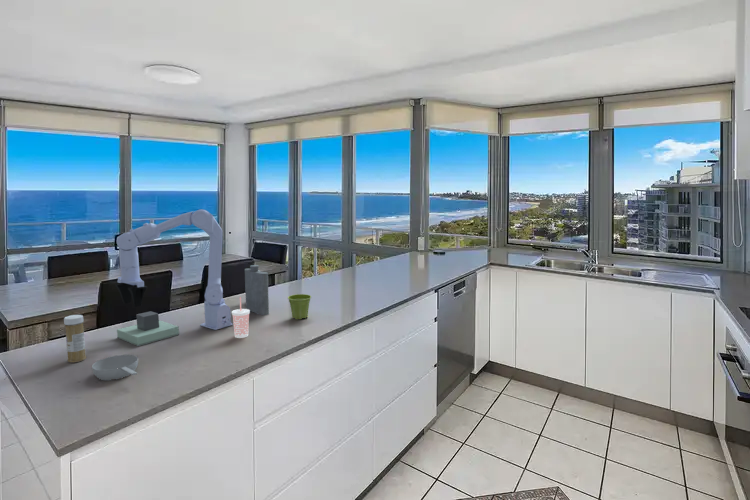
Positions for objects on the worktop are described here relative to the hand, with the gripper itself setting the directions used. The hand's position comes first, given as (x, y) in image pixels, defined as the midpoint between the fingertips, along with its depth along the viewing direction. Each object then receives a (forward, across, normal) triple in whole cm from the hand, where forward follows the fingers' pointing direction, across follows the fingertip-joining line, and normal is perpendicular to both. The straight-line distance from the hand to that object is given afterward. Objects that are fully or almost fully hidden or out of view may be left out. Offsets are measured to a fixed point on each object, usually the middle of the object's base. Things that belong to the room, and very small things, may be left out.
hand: (132, 304), depth 145 cm
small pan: (+11, +35, -20) cm, 42 cm away
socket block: (+10, +8, +1) cm, 13 cm away
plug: (+9, +8, +1) cm, 12 cm away
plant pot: (+11, +35, +48) cm, 60 cm away
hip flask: (+11, +13, +44) cm, 47 cm away
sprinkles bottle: (+11, +12, -22) cm, 27 cm away
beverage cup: (+11, +34, +20) cm, 41 cm away
